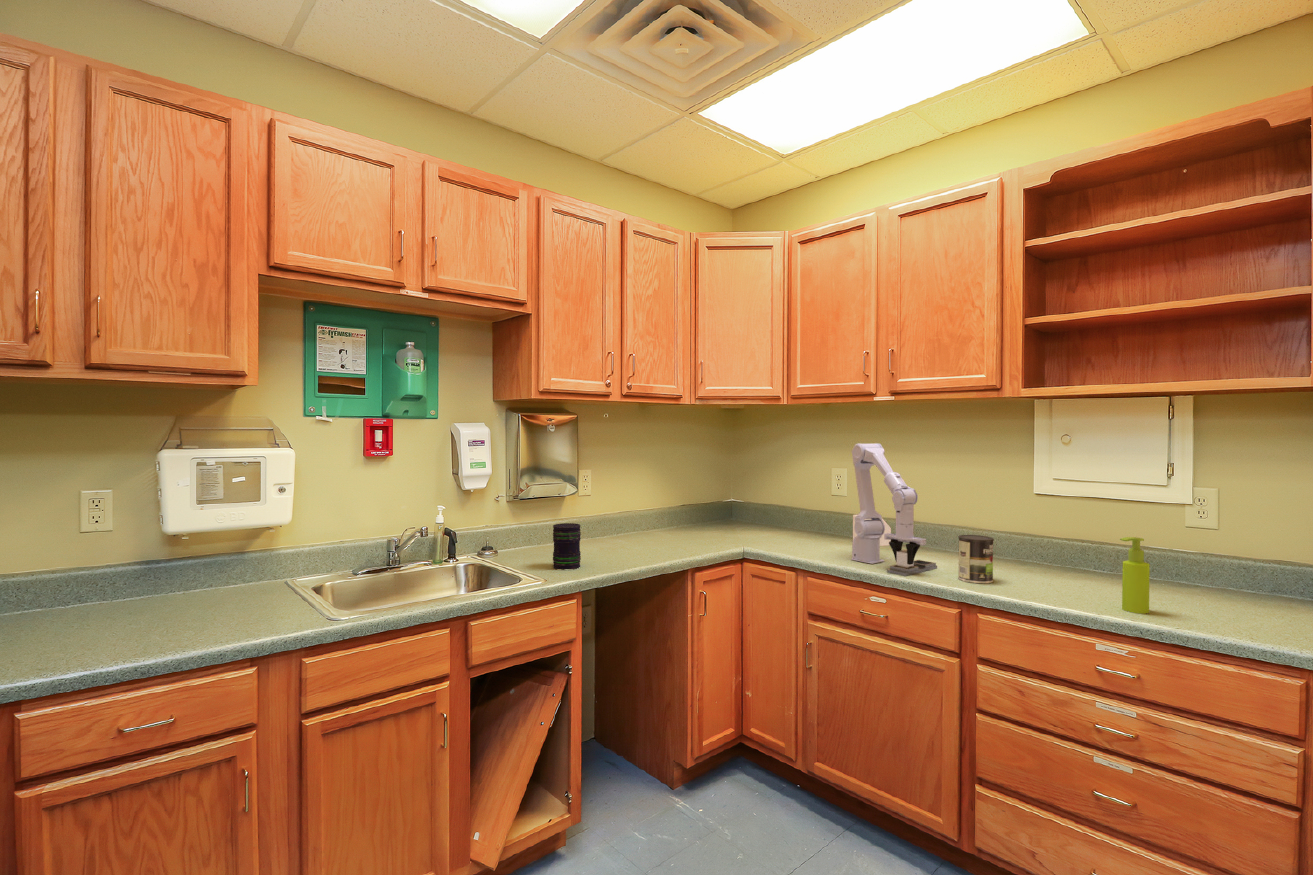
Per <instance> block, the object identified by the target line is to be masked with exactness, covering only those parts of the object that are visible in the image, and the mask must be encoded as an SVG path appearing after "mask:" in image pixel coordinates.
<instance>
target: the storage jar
mask: <svg viewBox="0 0 1313 875" xmlns="http://www.w3.org/2000/svg"><path fill="white" fill-rule="evenodd" d="M552 528H553V530H552V531H553V532H552V541H553V552H552V561H553V562H552V563H553V565H552V568H553V569H555V570H557V569H573V570H576V569H577V568H578V569H580V568H581V560H582V559H581V550H580V547H581V545H580V544H581V539H582V538H581V535H582V532H581V524H580V523H573V522H570V523H569V522H568V523H556V524H553V526H552ZM579 567H580V568H579Z"/></svg>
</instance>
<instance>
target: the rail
mask: <svg viewBox="0 0 1313 875" xmlns="http://www.w3.org/2000/svg"><path fill="white" fill-rule="evenodd" d="M936 569H938V565H937V562H934V561H933V562H932V561H928V560H921V559H916V560H915V559H914V568H909V569H904V568H899V567H897V564H894V565H892V564H891V565H889V568H887V569H886V573H888V574H894V575H898V576H903V577H907V576H912V575H915V574H916V575H917V574H920V573H924V572H928V571H929V572H930V571H933V570H936Z"/></svg>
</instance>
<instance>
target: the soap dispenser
mask: <svg viewBox="0 0 1313 875" xmlns="http://www.w3.org/2000/svg"><path fill="white" fill-rule="evenodd" d="M1119 540H1120V541H1123V542H1131V543H1132V546H1131V547H1130V548H1129V549H1128V558H1127V560H1123V561H1122V569H1121V570H1122V576H1121V577H1122V581H1121V583H1122V584H1121V585H1122V586H1121V587H1122V588H1121V589H1122V591H1121V593H1122V594H1121V603H1122V604H1121V610H1122V611H1125V612H1128V611H1129V612H1128V613H1132V612H1133V613H1132V614H1141V615H1143V614H1144V615H1145V614H1146V613H1147V614H1149V613H1150V577H1151V576H1150V570H1151V568H1150V566H1151V565H1150V563H1149V562H1146V561H1144V559H1145V551H1144V550H1143V549H1142V548H1141V541H1142V542H1144V541H1145V539H1144V538H1142V537H1137V536H1135V537H1134V536H1126V537H1122V538H1120V539H1119Z"/></svg>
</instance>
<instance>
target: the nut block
mask: <svg viewBox="0 0 1313 875" xmlns="http://www.w3.org/2000/svg"><path fill="white" fill-rule="evenodd" d="M914 561H915V560H914ZM914 561H913V564H910V565H909V564H908V554H907V549H902V550H900V551H897V562H896V565H897V567H899V568H904V569H909V568H914Z"/></svg>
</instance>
